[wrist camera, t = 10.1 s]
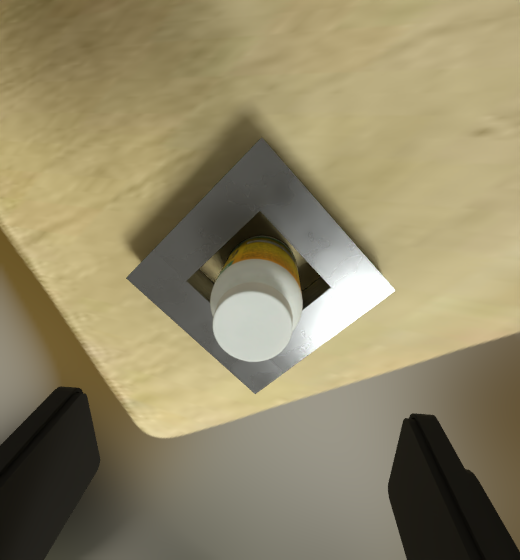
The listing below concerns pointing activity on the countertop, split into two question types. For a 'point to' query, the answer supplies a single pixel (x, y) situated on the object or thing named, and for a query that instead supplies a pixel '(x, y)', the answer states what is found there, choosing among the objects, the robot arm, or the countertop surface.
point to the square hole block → (300, 234)
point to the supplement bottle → (256, 300)
